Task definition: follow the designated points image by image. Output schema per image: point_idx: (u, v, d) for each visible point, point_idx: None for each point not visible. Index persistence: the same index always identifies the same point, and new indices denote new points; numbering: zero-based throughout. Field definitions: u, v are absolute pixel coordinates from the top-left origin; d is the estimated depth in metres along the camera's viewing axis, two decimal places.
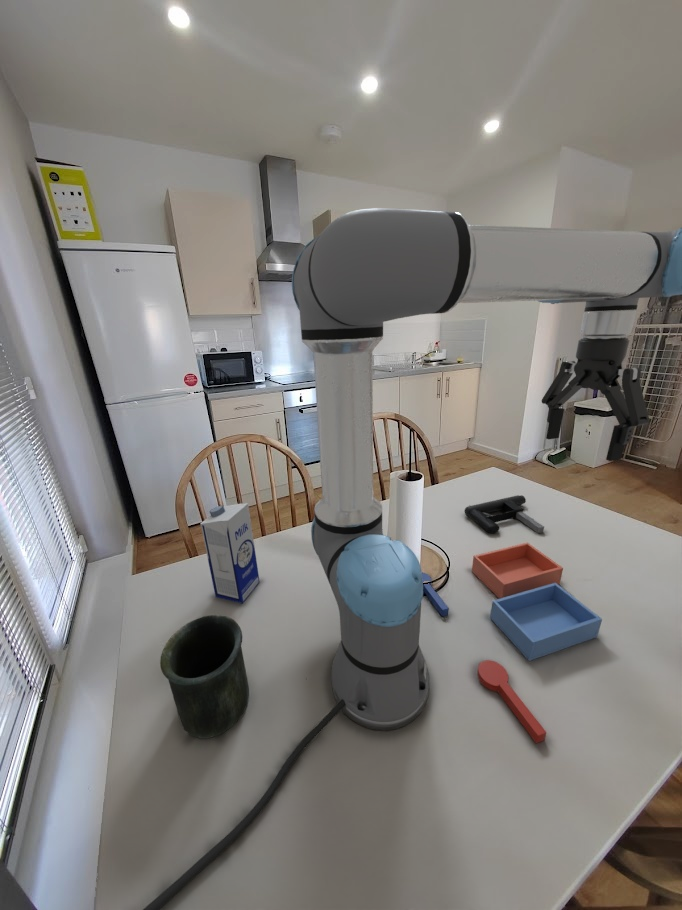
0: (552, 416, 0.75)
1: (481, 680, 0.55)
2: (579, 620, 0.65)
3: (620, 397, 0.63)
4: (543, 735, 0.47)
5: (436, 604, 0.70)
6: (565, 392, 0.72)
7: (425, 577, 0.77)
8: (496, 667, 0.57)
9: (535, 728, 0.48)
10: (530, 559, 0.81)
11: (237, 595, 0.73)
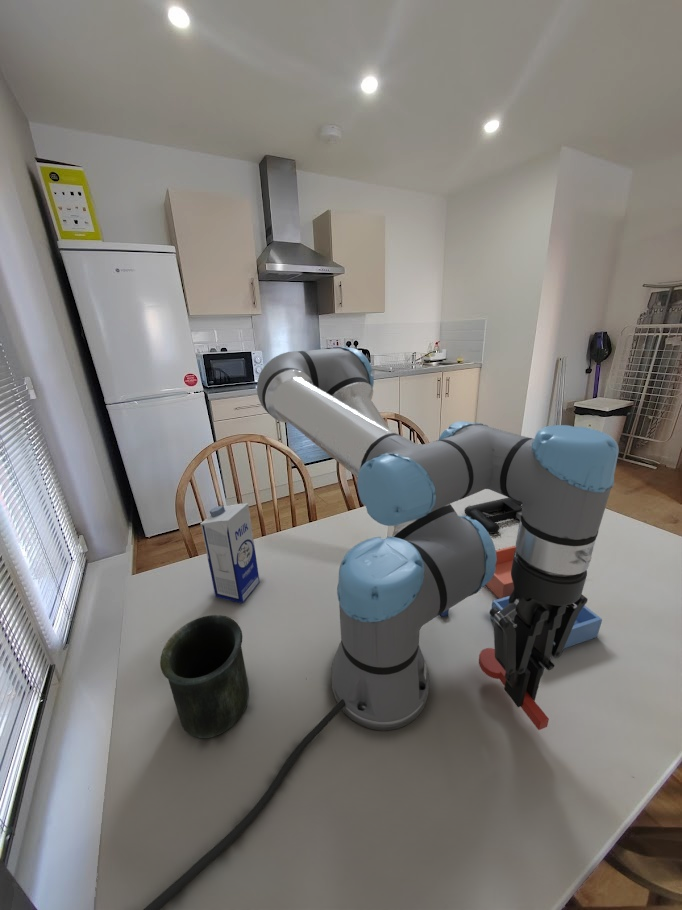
0: None
1: (482, 668, 0.54)
2: (579, 620, 0.65)
3: (520, 638, 0.45)
4: (545, 722, 0.46)
5: None
6: None
7: None
8: None
9: (537, 715, 0.47)
10: None
11: (237, 595, 0.73)
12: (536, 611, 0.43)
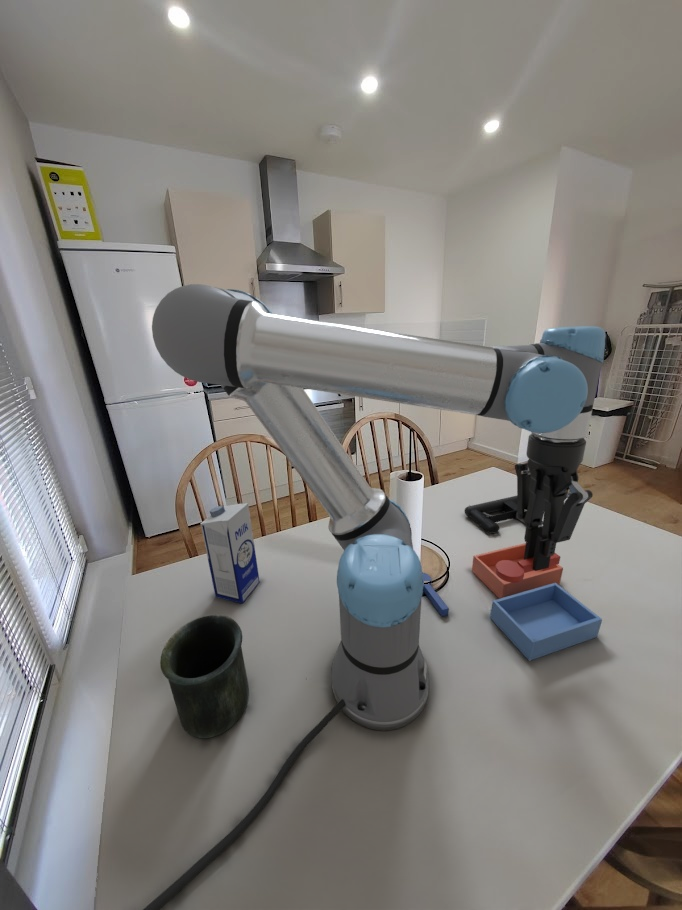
0: (529, 538, 0.60)
1: (519, 579, 0.59)
2: (579, 620, 0.65)
3: (558, 509, 0.56)
4: None
5: (436, 604, 0.70)
6: (532, 502, 0.59)
7: (425, 577, 0.77)
8: (502, 564, 0.61)
9: (554, 556, 0.62)
10: None
11: (237, 595, 0.73)
12: None
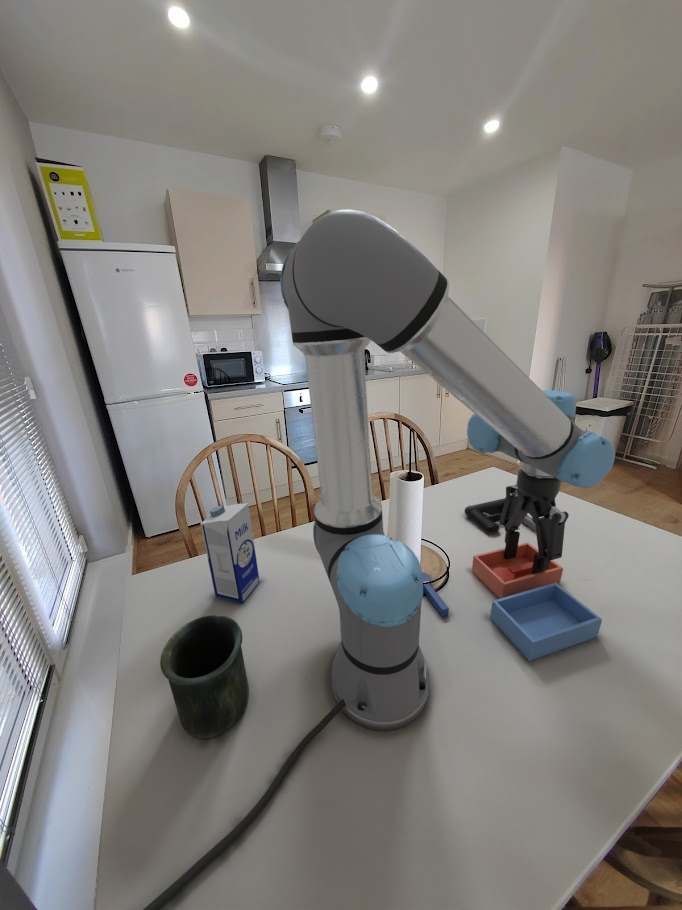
0: (508, 540, 0.78)
1: None
2: (579, 620, 0.65)
3: (546, 530, 0.70)
4: None
5: (436, 604, 0.70)
6: (515, 516, 0.76)
7: (425, 577, 0.77)
8: (497, 570, 0.77)
9: None
10: (530, 559, 0.81)
11: (237, 595, 0.73)
12: None
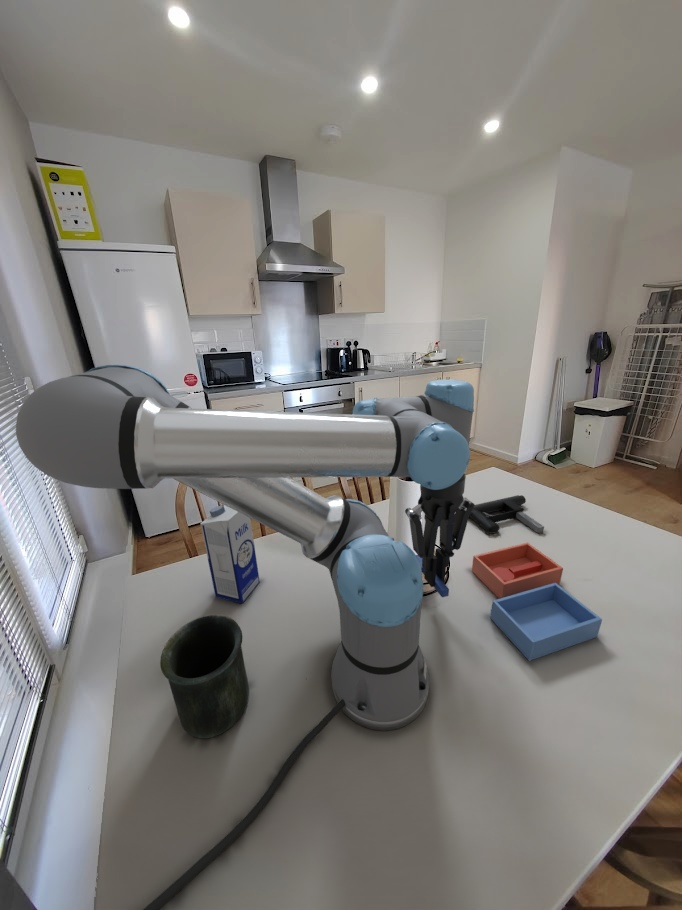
0: None
1: None
2: (579, 620, 0.65)
3: (428, 532, 0.65)
4: None
5: (436, 585, 0.68)
6: None
7: None
8: (497, 570, 0.77)
9: (537, 564, 0.78)
10: (530, 559, 0.81)
11: (237, 595, 0.73)
12: (435, 508, 0.62)
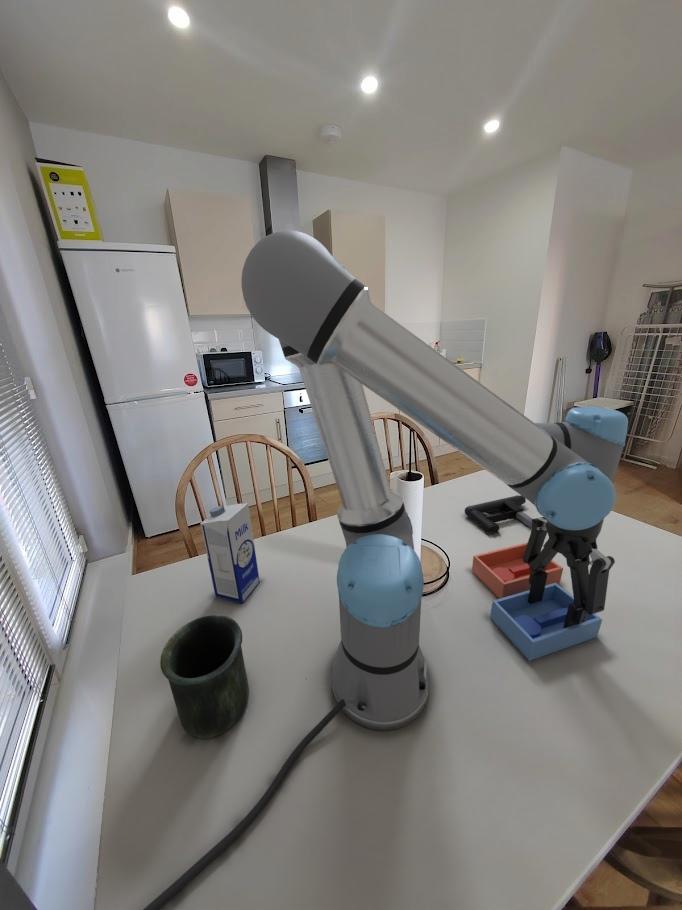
0: (534, 582, 0.66)
1: None
2: None
3: (584, 576, 0.57)
4: None
5: (563, 617, 0.65)
6: (543, 556, 0.63)
7: (523, 620, 0.64)
8: (497, 570, 0.77)
9: None
10: None
11: (237, 595, 0.73)
12: None
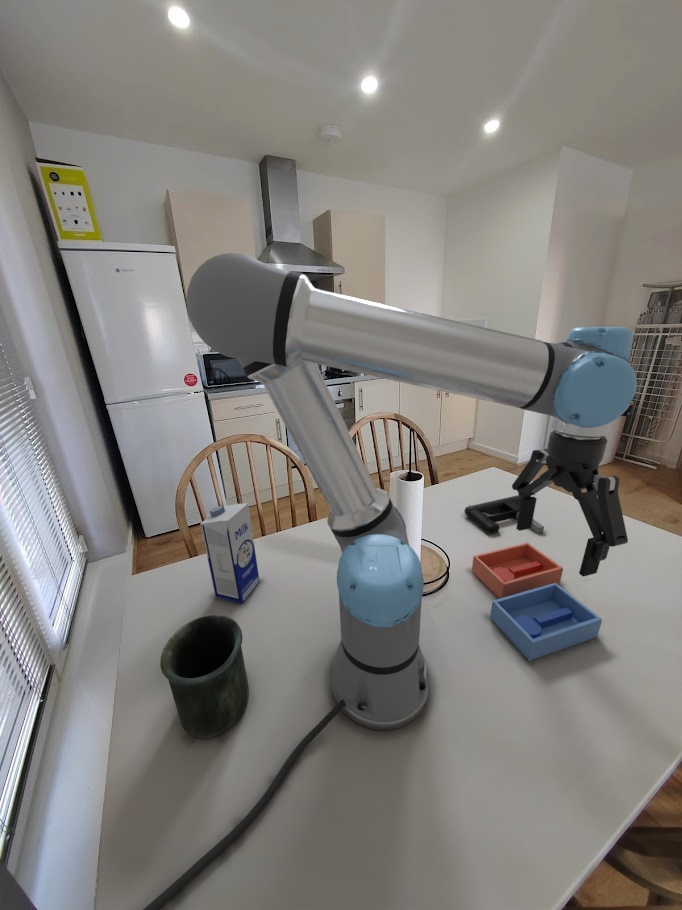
0: (523, 506, 0.66)
1: None
2: (579, 620, 0.65)
3: (595, 505, 0.54)
4: None
5: (563, 617, 0.65)
6: (536, 484, 0.62)
7: (523, 620, 0.64)
8: (497, 570, 0.77)
9: (537, 564, 0.78)
10: (530, 559, 0.81)
11: (237, 595, 0.73)
12: None
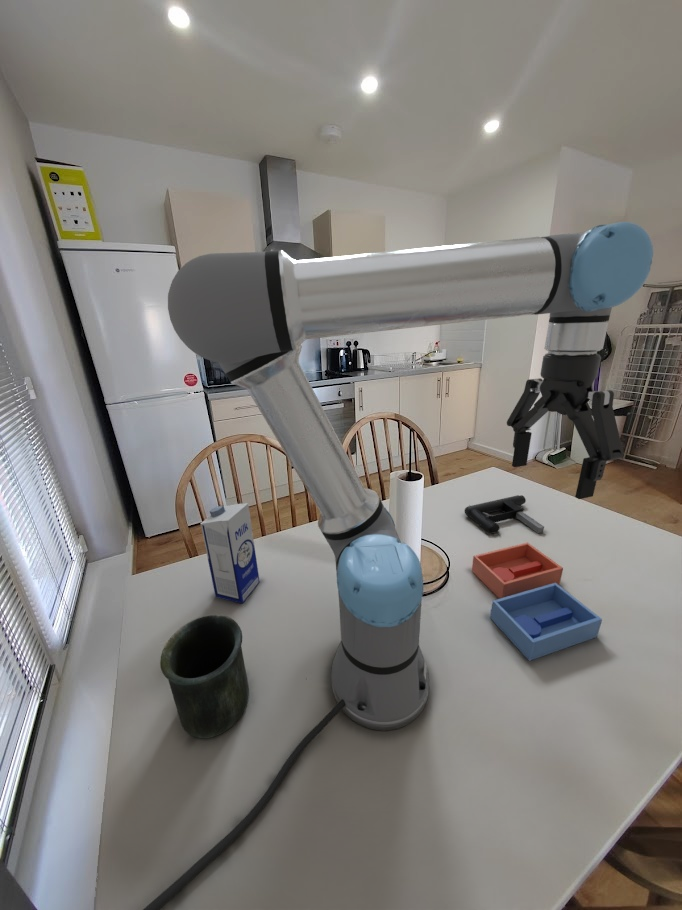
0: (518, 441, 0.65)
1: None
2: (579, 620, 0.65)
3: (590, 424, 0.53)
4: None
5: (563, 617, 0.65)
6: (531, 415, 0.62)
7: (523, 620, 0.64)
8: (497, 570, 0.77)
9: (537, 564, 0.78)
10: (530, 559, 0.81)
11: (237, 595, 0.73)
12: None
